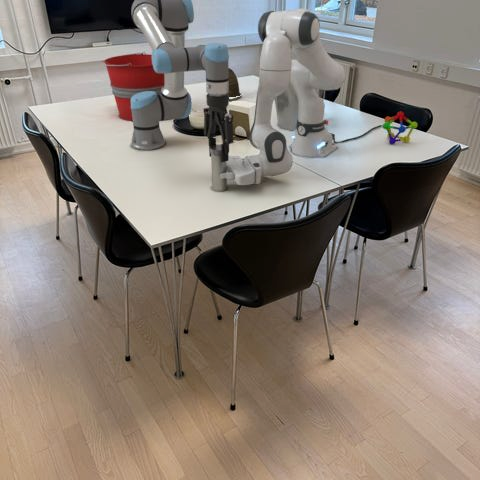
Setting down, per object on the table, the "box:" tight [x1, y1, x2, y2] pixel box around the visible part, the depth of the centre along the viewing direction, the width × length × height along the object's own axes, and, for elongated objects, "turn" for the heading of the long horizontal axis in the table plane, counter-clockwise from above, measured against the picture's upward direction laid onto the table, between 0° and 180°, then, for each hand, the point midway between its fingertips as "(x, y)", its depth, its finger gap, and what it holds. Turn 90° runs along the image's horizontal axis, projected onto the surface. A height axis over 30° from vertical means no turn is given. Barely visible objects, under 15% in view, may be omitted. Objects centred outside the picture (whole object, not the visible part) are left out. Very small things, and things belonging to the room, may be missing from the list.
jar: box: [210, 154, 228, 192], centre depth 163 cm, size 6×6×16 cm
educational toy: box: [382, 110, 418, 145], centre depth 207 cm, size 16×13×15 cm
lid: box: [210, 143, 222, 155], centre depth 160 cm, size 6×6×2 cm
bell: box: [227, 67, 242, 97], centre depth 278 cm, size 19×26×20 cm
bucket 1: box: [100, 51, 165, 122], centre depth 241 cm, size 35×35×30 cm
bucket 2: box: [274, 83, 326, 131], centre depth 226 cm, size 30×30×28 cm
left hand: (218, 158), depth 161 cm, fingers closed on lid, 6 cm apart
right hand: (216, 172), depth 164 cm, fingers closed on jar, 5 cm apart
